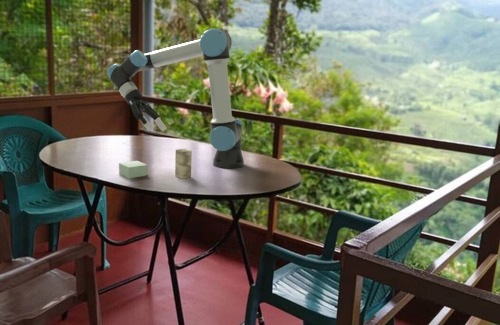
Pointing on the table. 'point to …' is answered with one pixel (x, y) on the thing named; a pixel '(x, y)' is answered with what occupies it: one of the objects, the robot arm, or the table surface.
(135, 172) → the sage block
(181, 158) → the birch block
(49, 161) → the table surface
